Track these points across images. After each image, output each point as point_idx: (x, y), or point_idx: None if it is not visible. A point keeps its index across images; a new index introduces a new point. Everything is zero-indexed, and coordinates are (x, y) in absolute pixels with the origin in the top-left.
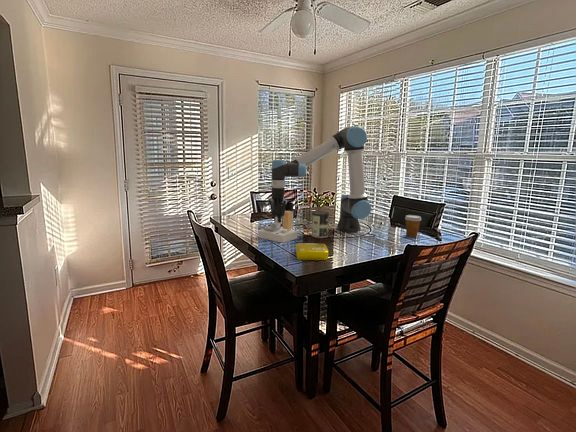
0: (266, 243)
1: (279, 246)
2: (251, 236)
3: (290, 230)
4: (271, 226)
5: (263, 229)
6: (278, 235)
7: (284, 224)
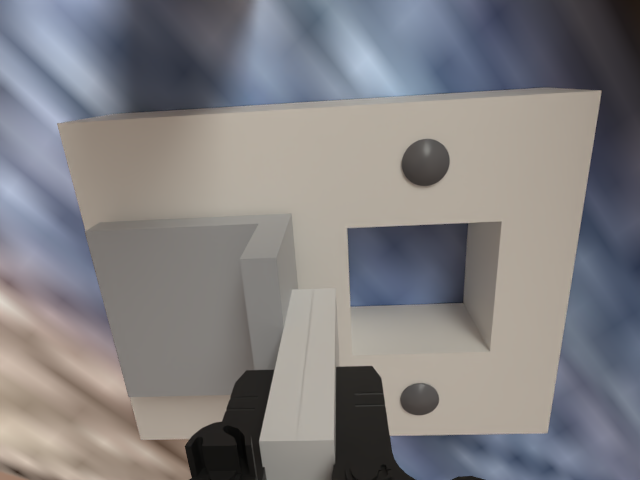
0: None
1: (552, 469)
2: (95, 400)
3: (461, 140)
4: (134, 270)
5: None
6: (468, 428)
7: None
